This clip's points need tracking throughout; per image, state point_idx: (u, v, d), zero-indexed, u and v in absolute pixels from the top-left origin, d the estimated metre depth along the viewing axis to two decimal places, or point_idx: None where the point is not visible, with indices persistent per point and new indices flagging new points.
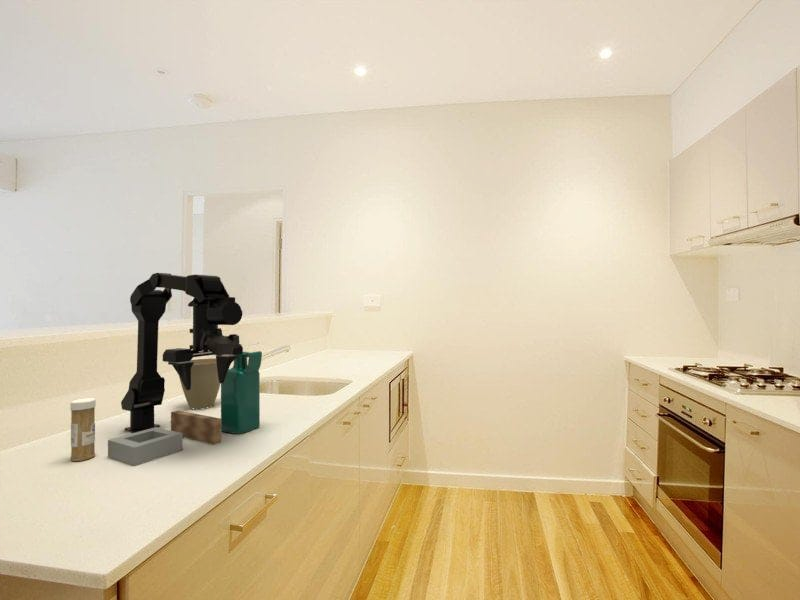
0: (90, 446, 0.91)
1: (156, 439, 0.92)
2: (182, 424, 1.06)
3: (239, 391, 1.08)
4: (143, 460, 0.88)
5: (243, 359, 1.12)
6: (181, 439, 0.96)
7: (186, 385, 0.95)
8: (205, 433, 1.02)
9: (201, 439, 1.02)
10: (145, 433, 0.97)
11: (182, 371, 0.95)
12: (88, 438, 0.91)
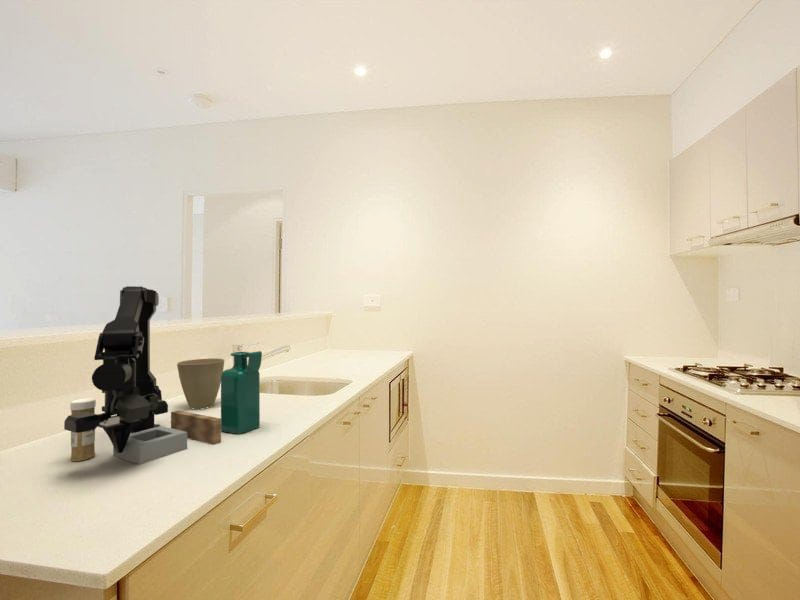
0: (90, 446, 0.91)
1: (161, 438, 0.93)
2: (182, 424, 1.06)
3: (239, 391, 1.08)
4: (148, 458, 0.89)
5: (243, 359, 1.12)
6: (186, 438, 0.97)
7: (116, 448, 0.89)
8: (205, 433, 1.02)
9: (201, 439, 1.02)
10: (150, 432, 0.98)
11: (112, 433, 0.88)
12: (88, 438, 0.91)
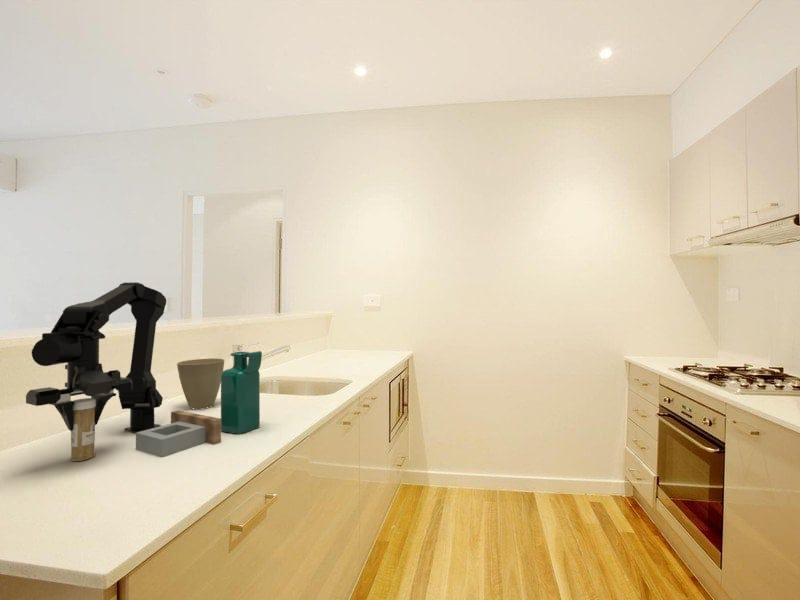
0: (90, 446, 0.91)
1: (181, 432, 0.97)
2: None
3: (239, 391, 1.08)
4: (170, 451, 0.93)
5: (243, 359, 1.12)
6: (204, 432, 1.01)
7: (68, 426, 0.89)
8: None
9: None
10: (170, 427, 1.02)
11: (63, 410, 0.89)
12: (88, 438, 0.91)
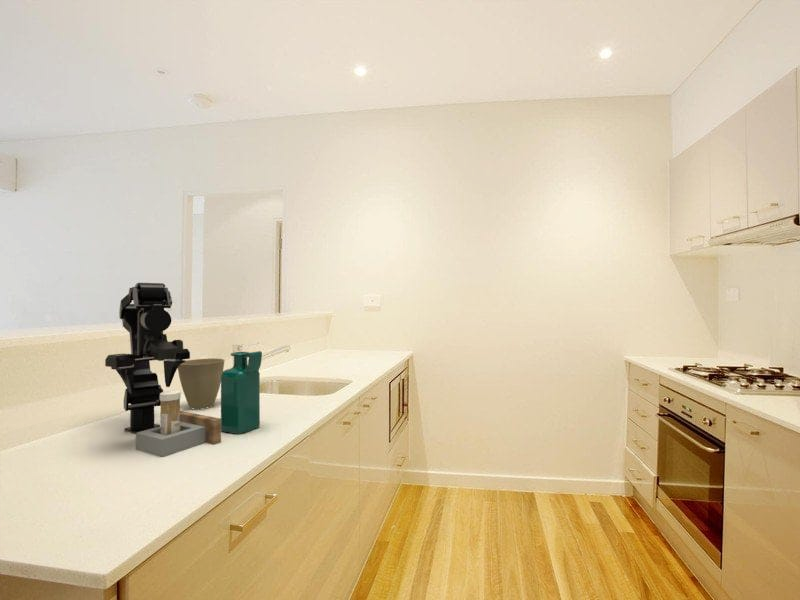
0: None
1: (181, 432, 0.97)
2: None
3: (239, 391, 1.08)
4: (170, 451, 0.93)
5: (243, 359, 1.12)
6: (204, 432, 1.01)
7: (129, 389, 0.99)
8: None
9: None
10: None
11: (125, 375, 0.99)
12: (176, 427, 0.99)
